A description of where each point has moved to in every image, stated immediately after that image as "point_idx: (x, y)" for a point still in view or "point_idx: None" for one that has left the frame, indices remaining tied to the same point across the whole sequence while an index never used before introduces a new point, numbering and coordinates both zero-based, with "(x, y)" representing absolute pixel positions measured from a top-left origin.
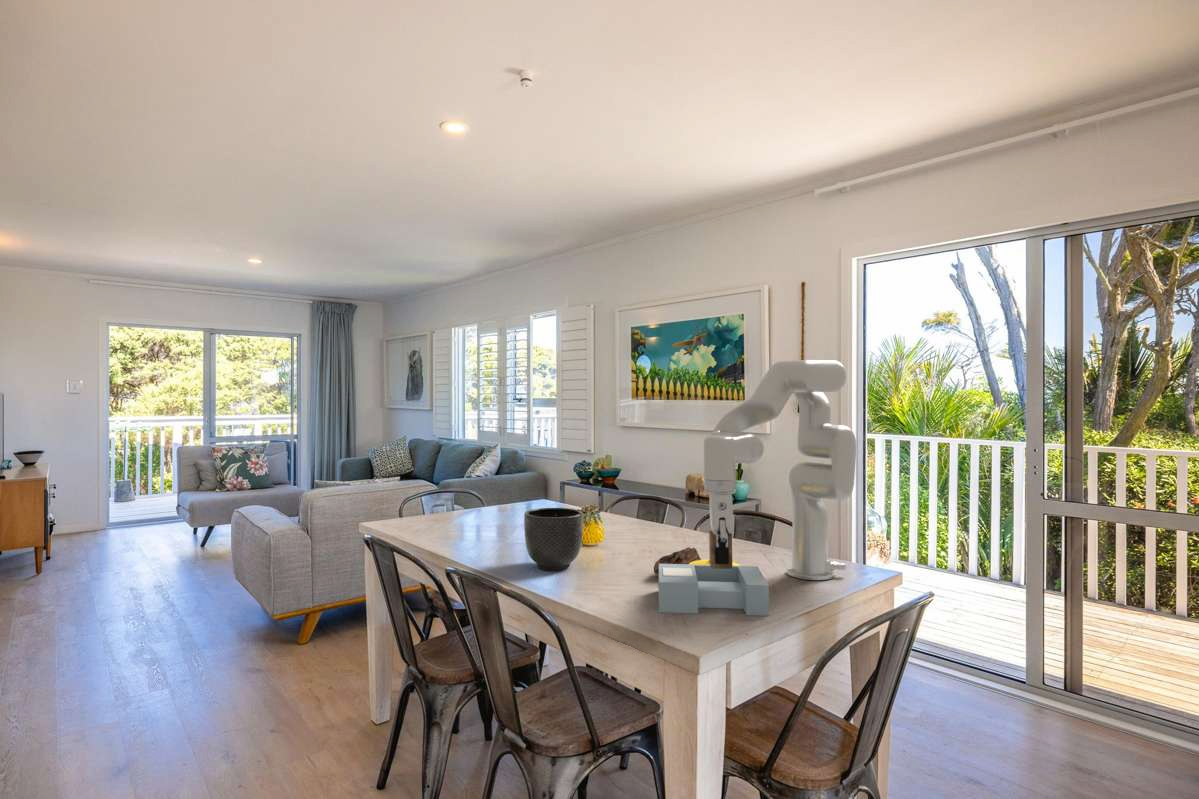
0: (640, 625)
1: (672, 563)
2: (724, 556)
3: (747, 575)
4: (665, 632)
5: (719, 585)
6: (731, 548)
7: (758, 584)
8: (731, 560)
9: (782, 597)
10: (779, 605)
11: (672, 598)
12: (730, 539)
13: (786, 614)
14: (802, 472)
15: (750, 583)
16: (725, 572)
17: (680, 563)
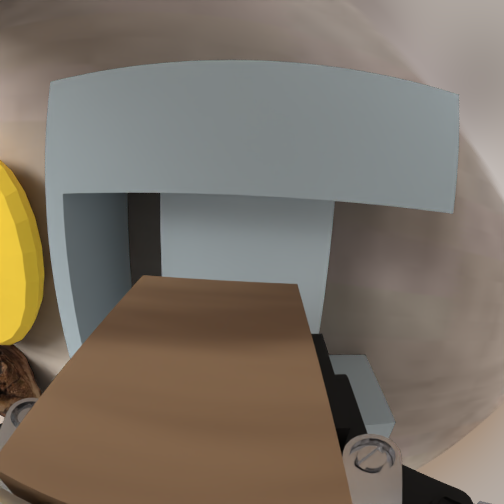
0: (416, 454)
1: (14, 399)
2: (351, 400)
3: (261, 160)
4: (466, 411)
5: None
6: (324, 390)
7: (449, 144)
8: (305, 319)
9: (161, 16)
10: (265, 38)
11: None
12: (340, 490)
13: (373, 45)
14: None
15: (435, 185)
16: (84, 255)
17: (6, 379)
